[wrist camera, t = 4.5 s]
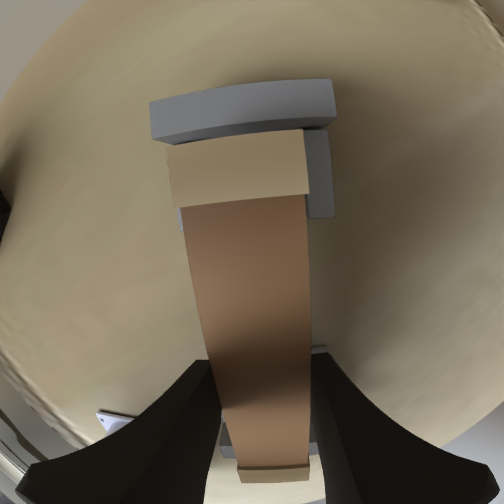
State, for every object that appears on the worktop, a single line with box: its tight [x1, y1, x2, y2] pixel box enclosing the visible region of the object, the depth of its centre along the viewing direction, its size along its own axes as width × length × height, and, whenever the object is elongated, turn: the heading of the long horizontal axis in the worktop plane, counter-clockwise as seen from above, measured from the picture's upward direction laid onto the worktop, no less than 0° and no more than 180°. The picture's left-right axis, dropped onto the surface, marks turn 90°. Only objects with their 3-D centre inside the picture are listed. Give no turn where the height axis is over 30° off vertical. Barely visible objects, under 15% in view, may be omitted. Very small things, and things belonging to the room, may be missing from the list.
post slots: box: [149, 79, 337, 458], centre depth 14 cm, size 21×7×5 cm, turn 6°
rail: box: [166, 129, 311, 483], centre depth 11 cm, size 15×3×5 cm, turn 6°
